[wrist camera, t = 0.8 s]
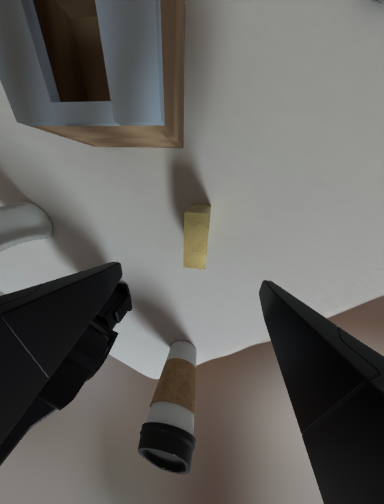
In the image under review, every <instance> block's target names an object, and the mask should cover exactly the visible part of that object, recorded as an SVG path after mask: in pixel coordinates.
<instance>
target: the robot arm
mask: <svg viewBox="0 0 384 504" xmlns="http://www.w3.org/2000/svg"><path fill="white" fill-rule="evenodd" d="M121 277H122V268H121V264H120V263H119V262H111V263H108V264H104V265H101V266H98V267H95V268H91V269H88V270H85V271H82V272H78V273H75V274H72V275H69V276H65V277H62V278H59V279H56V280H53V281H49V282H46V283H44V284H39V285H36V286H33V287H30V288H26V289H23V290H20V291H16V292H13V293H9V294H6V295H2V296H0V465H1V464H2V463H3V462H4V460H5V459H6V458H7V457H8V455H9V454H10V453H11V452H12V450H13V449H14V448H15V446H16V445H17V444H18V443H19V441H20V440H21V439H22V438H23V436H24V435H25V434H26V432H27V431H28V430H29V429H30V428H32V427H33V426H34V425H35V424H37V423H39V422H40V421H41V420H43V419H44V418H46V417H47V416H48V415H50V414H51V413H52V412H54V411H55V410H57V409H58V410H61V409H62V408H64V407H65V406H66V405H68V404H69V403H70V402H71V401H72V400H73V399H74V398H75V396H76V395H77V393H78V392H79V390H80V389H81V387H82V386H83V384H84V383H85V381H87V380H89V379H90V378H91V377H93V376H94V374H95V373H96V372H97V371H98V370H99V368H100V367H101V366H102V364H103V363H104V361H105V359H106V358H107V356H108V354H109V352H110V350H111V348H112V346H113V344H114V341H115V339H116V337H117V335H118V333H117V332H115V331H113V330H112V329H113V328H114V326H115V325H116V324H117V323H119V322H120V321H121V320H122V319H123V317H124V316H125V314H126V313H127V311H131V310H132V304H131V299H130V295H129V290H128V286H127V285H126V284H119V283H118V282H119V280H120V279H121ZM259 296H260V301H261V306H262V311H263V316H264V320H265V323H266V326H267V329H268V333H269V336H270V339H271V342H272V345H273V348H274V351H275V354H276V357H277V360H278V363H279V366H280V369H281V372H282V376H283V378H284V382H285V385H286V388H287V391H288V394H289V397H290V400H291V403H292V406H293V409H294V412H295V415H296V418H297V422H298V425H299V428H300V431H301V433H302V438H303V441H304V444H305V447H306V450H307V453H308V456H309V459H310V462H311V465H312V468H313V471H314V474H315V478H316V480H317V484H318V486H319V490H320V493H321V495H322V499H323V502H324V504H384V356H382V355H380V354H379V353H377V352H376V351H374V350H373V349H371V348H370V347H368V346H367V345H365V344H363V343H362V342H360V341H359V340H357V339H356V338H354V337H353V336H351V335H350V334H348V333H347V332H345V331H344V330H342V329H341V328H340V327H337V326H336V325H335V324H334V323H332V322H331V321H329V320H328V319H326V318H325V317H323V316H322V315H320V314H319V313H317V312H316V311H315V310H313V309H312V308H310V307H309V306H307V305H306V304H304V303H303V302H301V301H300V300H298V299H297V298H295V297H294V296H292V295H291V294H290V293H288V292H287V291H285V290H284V289H282V288H281V287H279V286H278V285H276V284H275V283H273V282H272V281H267V280H264V281H263V282H262V285H261V288H260V291H259Z"/></svg>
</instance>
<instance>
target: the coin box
mask: <svg viewBox="0 0 384 504" xmlns="http://www.w3.org/2000/svg"><path fill="white" fill-rule="evenodd" d="M184 2H185V0H0V80H1V82H2V85H3V88H4V90H5V93H6V95H7V98H8V100H9V103H10V105H11V108H12V111H13V113H14V116H15V118H16V121H17V122H18V123H22V124H25V125H28V126H31V127H34V128H37V129H40V130H44V131H47V132H50V133H53V134H56V135H59V136H62V137H65V138H69V139H72V140H75V141H78V142H81V143H84V144H87V145H91V146H94V147H154V148H183V123H184Z"/></svg>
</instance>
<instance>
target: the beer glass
mask: <svg viewBox="0 0 384 504" xmlns="http://www.w3.org/2000/svg"><path fill="white" fill-rule="evenodd" d="M52 231H53V228H52V223H51V221H50V219H49V217H48V216H47V214H46V213H45V212H44V211H43V210H42V209H41V208H40V207H38V206H37V205H35V204H33V203H31V202H26V201H22V202H17V203H13V204H9V205H6V206H1V207H0V252H1V251H3V250H6V249H8V248H10V247H12V246H15V245H18V244H21V243H24V242H29V241H34V240H41V239H46V238H48V237H50V236H51V234H52Z"/></svg>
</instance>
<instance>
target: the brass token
mask: <svg viewBox="0 0 384 504" xmlns="http://www.w3.org/2000/svg"><path fill="white" fill-rule="evenodd" d="M210 211H211V205H199V204H192V205H191V206H190V207H189V208H188V209H187V210H186V211H185V212H184V267H188V268H197V269H205V265H206V254H207V244H208V233H209V222H210Z"/></svg>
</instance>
